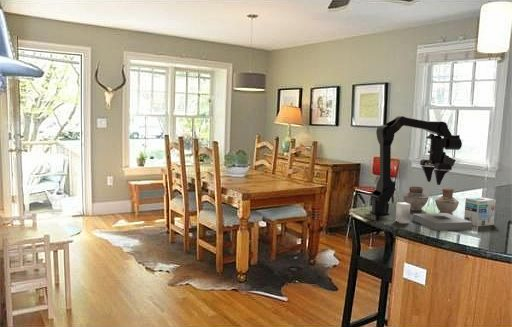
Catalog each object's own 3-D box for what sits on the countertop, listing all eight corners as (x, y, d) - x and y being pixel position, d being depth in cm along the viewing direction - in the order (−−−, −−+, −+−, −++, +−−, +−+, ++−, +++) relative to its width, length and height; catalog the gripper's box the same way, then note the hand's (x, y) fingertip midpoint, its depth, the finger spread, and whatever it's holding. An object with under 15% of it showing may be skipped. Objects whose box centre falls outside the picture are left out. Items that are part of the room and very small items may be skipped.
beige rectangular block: (400, 223, 176) (401, 204, 175) (395, 221, 180) (396, 202, 179) (409, 223, 177) (410, 204, 176) (404, 220, 181) (405, 202, 180)
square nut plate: (435, 230, 166) (436, 223, 166) (412, 220, 182) (413, 213, 181) (471, 229, 169) (472, 222, 169) (446, 219, 185) (446, 213, 185)
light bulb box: (477, 227, 174) (479, 200, 173) (462, 223, 180) (464, 197, 179) (494, 224, 179) (496, 199, 178) (479, 221, 185) (481, 196, 184)
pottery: (453, 218, 189) (455, 191, 187) (398, 209, 205) (400, 184, 204) (461, 214, 197) (463, 189, 196) (407, 206, 213) (409, 182, 212)
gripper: (465, 151, 185) (461, 187, 187) (443, 148, 204) (440, 180, 205) (440, 150, 184) (437, 186, 186) (420, 147, 203) (418, 180, 205)
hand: (433, 183), depth 195 cm, fingers open, 9 cm apart
